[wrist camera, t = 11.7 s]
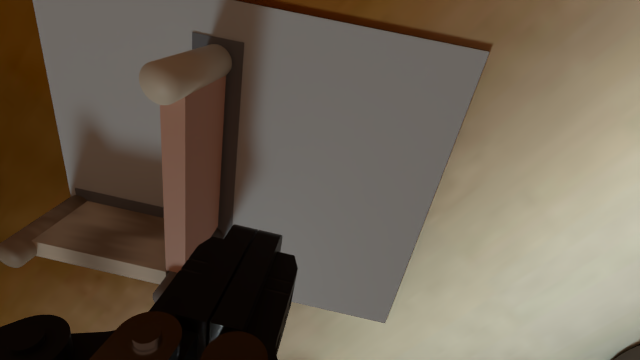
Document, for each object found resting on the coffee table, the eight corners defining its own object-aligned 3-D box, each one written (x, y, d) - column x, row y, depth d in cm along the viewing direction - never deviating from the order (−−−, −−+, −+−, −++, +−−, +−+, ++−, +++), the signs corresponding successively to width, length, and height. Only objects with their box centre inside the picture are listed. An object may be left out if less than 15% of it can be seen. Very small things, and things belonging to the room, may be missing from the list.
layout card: (487, 51, 18) (490, 52, 18) (384, 320, 28) (384, 324, 28) (29, -42, 19) (23, -43, 19) (84, 251, 29) (81, 253, 29)
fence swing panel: (221, 227, 25) (182, 288, 20) (197, 221, 25) (151, 280, 20) (232, 47, 19) (180, 66, 14) (201, 41, 19) (137, 56, 14)
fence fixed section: (224, 227, 26) (182, 292, 20) (223, 246, 27) (182, 314, 21) (67, 192, 26) (-17, 246, 21) (71, 212, 27) (-9, 269, 21)
